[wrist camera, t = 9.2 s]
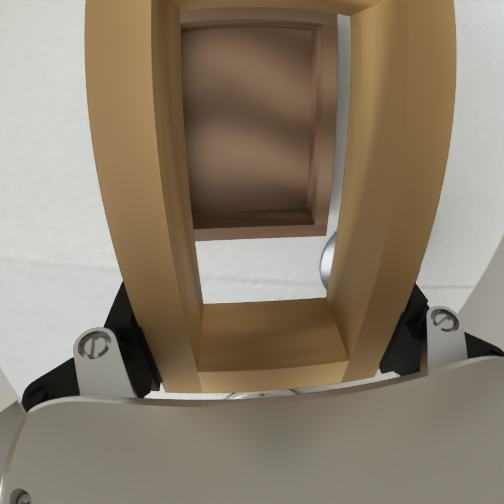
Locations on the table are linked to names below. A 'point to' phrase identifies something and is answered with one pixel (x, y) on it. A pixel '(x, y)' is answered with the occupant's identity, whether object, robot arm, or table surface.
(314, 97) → the tray
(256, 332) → the light wooden frame
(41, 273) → the table surface
